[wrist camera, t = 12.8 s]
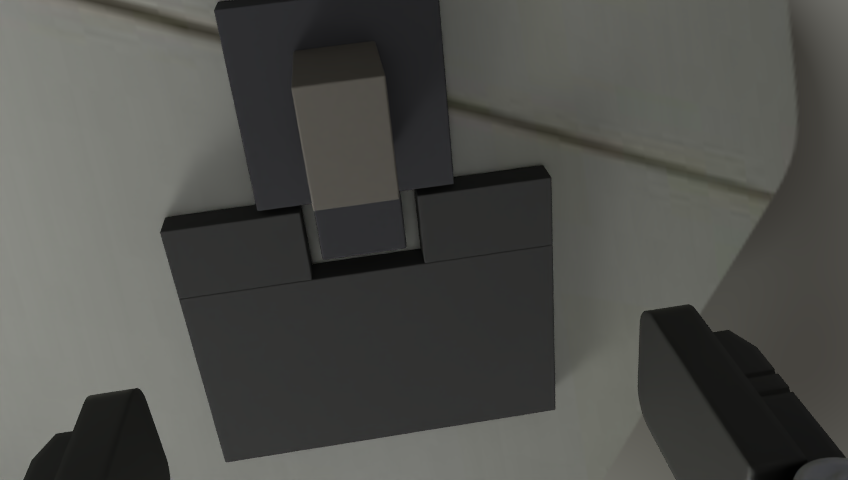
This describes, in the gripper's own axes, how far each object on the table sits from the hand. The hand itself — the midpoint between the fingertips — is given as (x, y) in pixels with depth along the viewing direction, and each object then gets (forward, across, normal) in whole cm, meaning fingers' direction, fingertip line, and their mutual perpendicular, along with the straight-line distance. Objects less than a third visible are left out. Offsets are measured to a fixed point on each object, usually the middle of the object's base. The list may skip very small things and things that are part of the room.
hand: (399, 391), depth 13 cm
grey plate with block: (+25, +1, +4) cm, 25 cm away
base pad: (+24, +1, +15) cm, 28 cm away
